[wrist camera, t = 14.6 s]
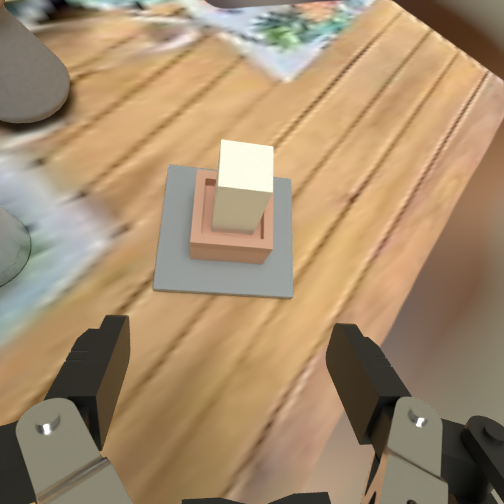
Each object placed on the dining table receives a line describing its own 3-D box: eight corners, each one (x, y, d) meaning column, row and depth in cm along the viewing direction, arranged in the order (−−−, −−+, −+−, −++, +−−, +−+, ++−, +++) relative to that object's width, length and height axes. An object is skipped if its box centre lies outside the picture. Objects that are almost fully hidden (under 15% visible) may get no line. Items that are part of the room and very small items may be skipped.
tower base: (153, 290, 37) (146, 275, 31) (169, 169, 42) (165, 135, 36) (290, 299, 39) (308, 286, 33) (288, 183, 45) (304, 154, 38)
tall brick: (211, 231, 35) (217, 186, 26) (214, 194, 36) (221, 139, 27) (252, 235, 35) (272, 192, 27) (253, 198, 37) (273, 146, 28)
